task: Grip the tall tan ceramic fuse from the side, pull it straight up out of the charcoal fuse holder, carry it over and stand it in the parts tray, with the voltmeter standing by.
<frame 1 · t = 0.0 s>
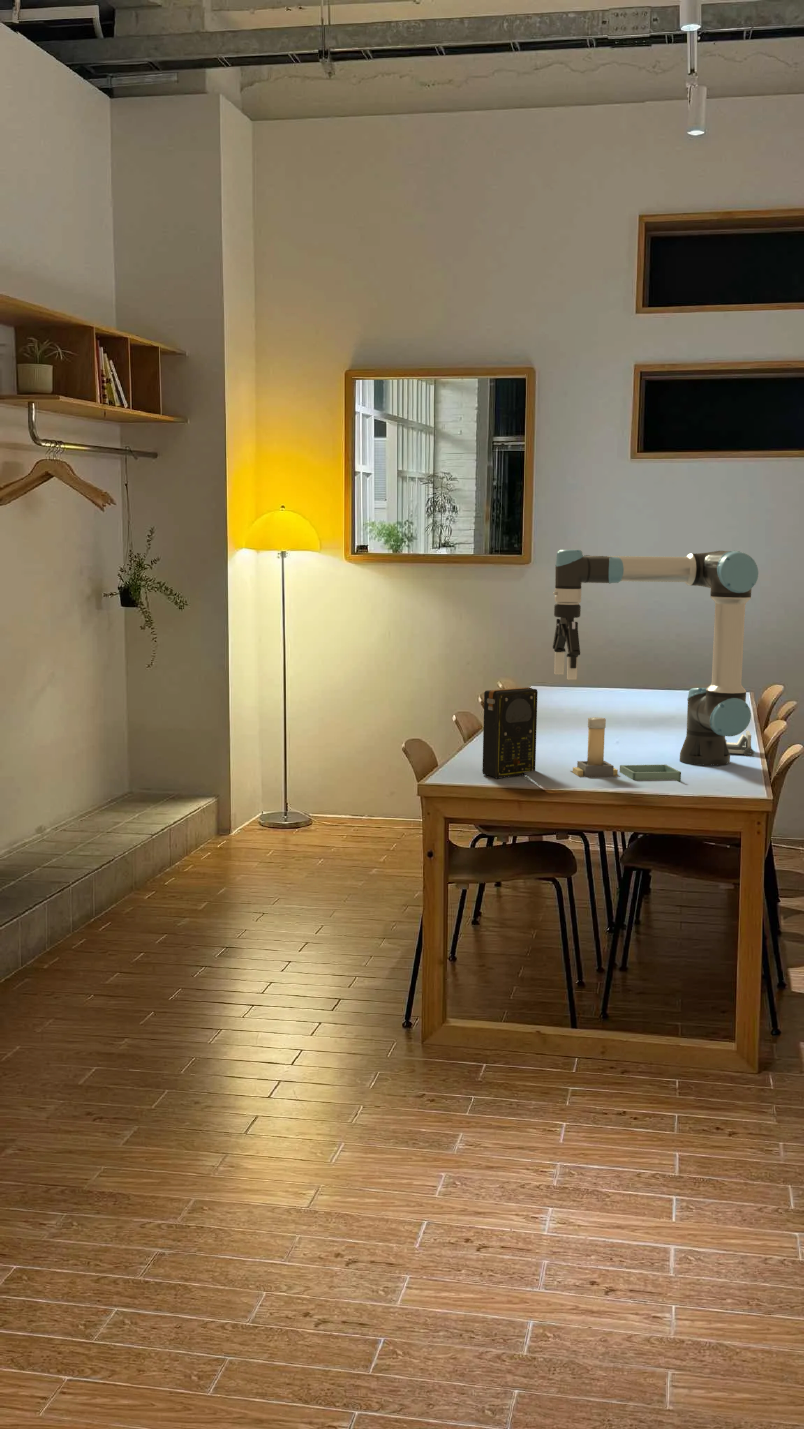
hand: (565, 677, 383), 28 cm above the table, tool pointing down, fingers open, 13 cm apart
fuse holder: (594, 777, 380), on the table
voltmeter: (508, 775, 382), on the table
parts tray: (649, 778, 378), on the table
fuse: (595, 773, 379), point 1 cm above the table, touching fuse holder
phone holder: (723, 753, 427), on the table
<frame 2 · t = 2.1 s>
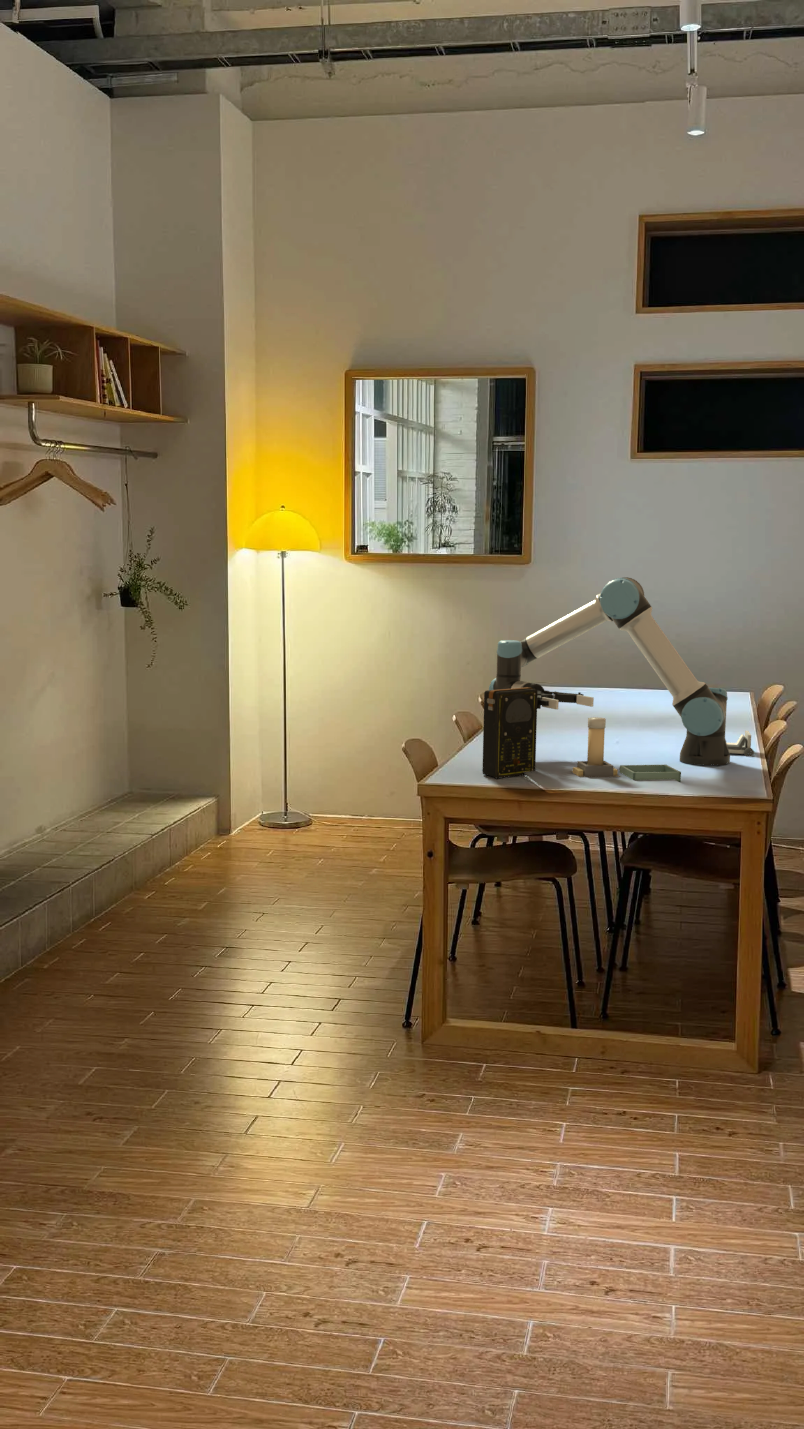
hand: (575, 703, 384), 20 cm above the table, tool horizontal, fingers open, 13 cm apart
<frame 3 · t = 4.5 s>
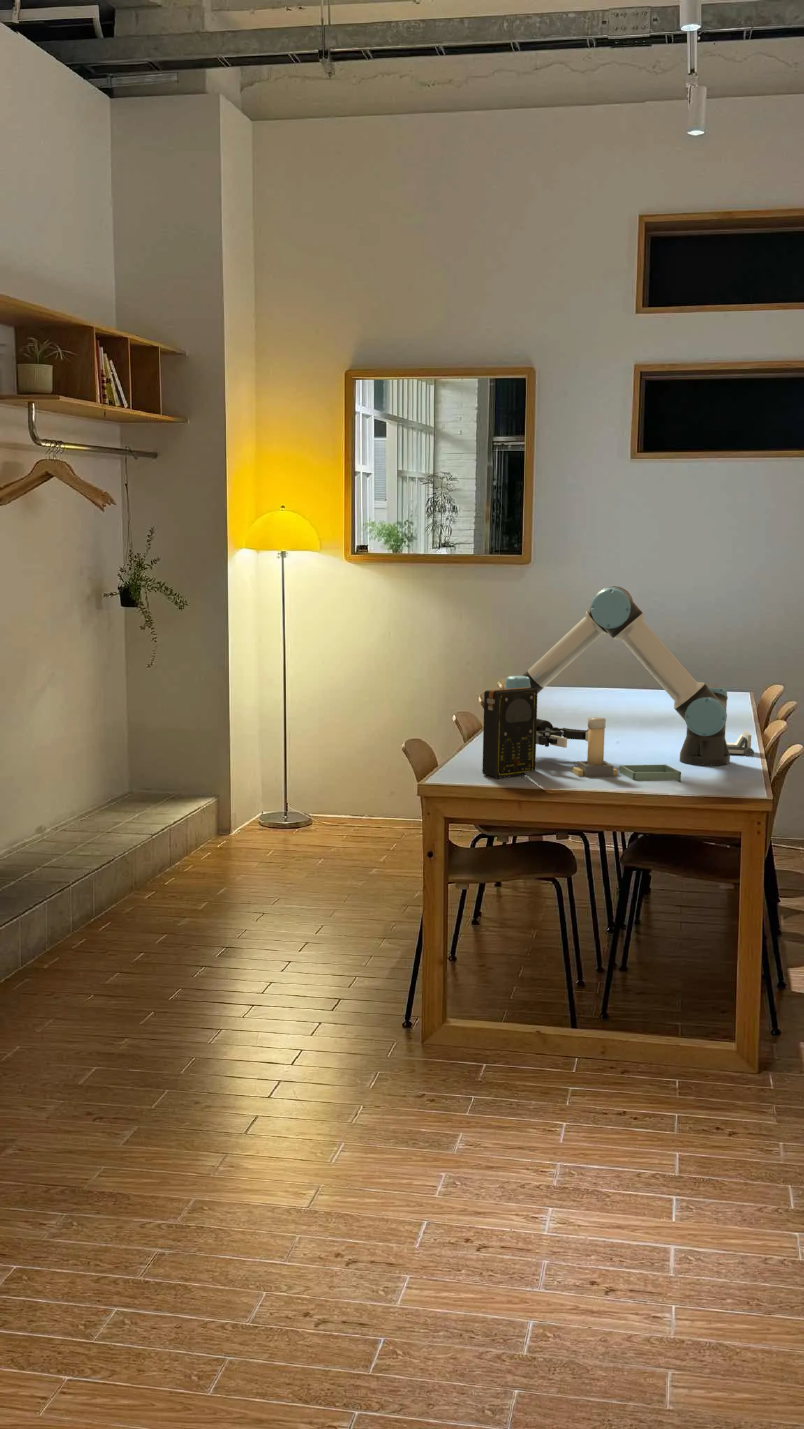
hand: (584, 741, 382), 10 cm above the table, tool horizontal, fingers open, 13 cm apart
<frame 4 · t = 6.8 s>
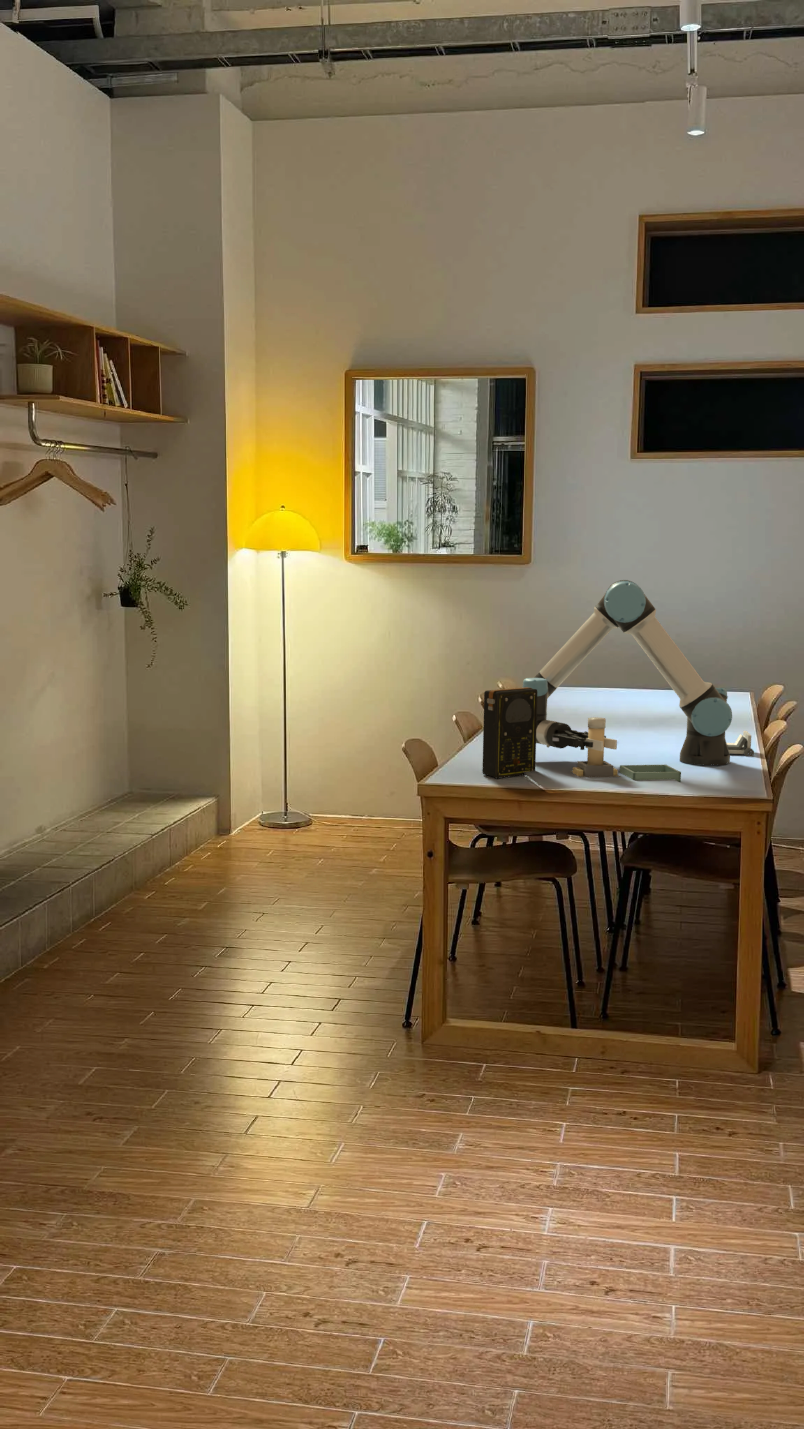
hand: (608, 745, 374), 10 cm above the table, tool horizontal, fingers closed on fuse, 4 cm apart
fuse: (595, 773, 379), point 1 cm above the table, touching fuse holder, gripper
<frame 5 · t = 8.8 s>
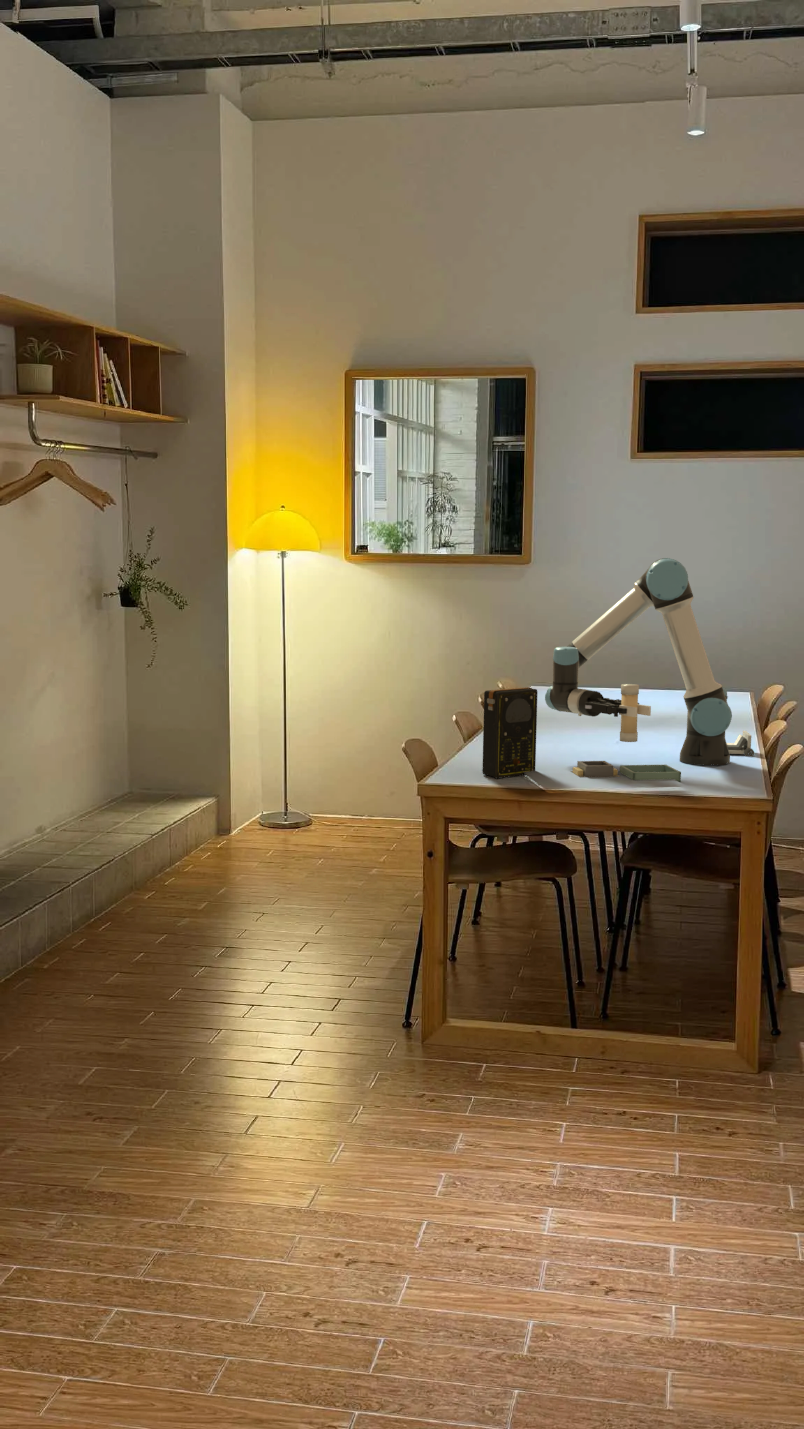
hand: (642, 711, 372), 20 cm above the table, tool horizontal, fingers closed on fuse, 4 cm apart
fuse: (628, 740, 377), point 11 cm above the table, touching gripper
when the fingers open (11 cm above the table, at t = 11.2 s): fuse drops 1 cm, resting on parts tray.
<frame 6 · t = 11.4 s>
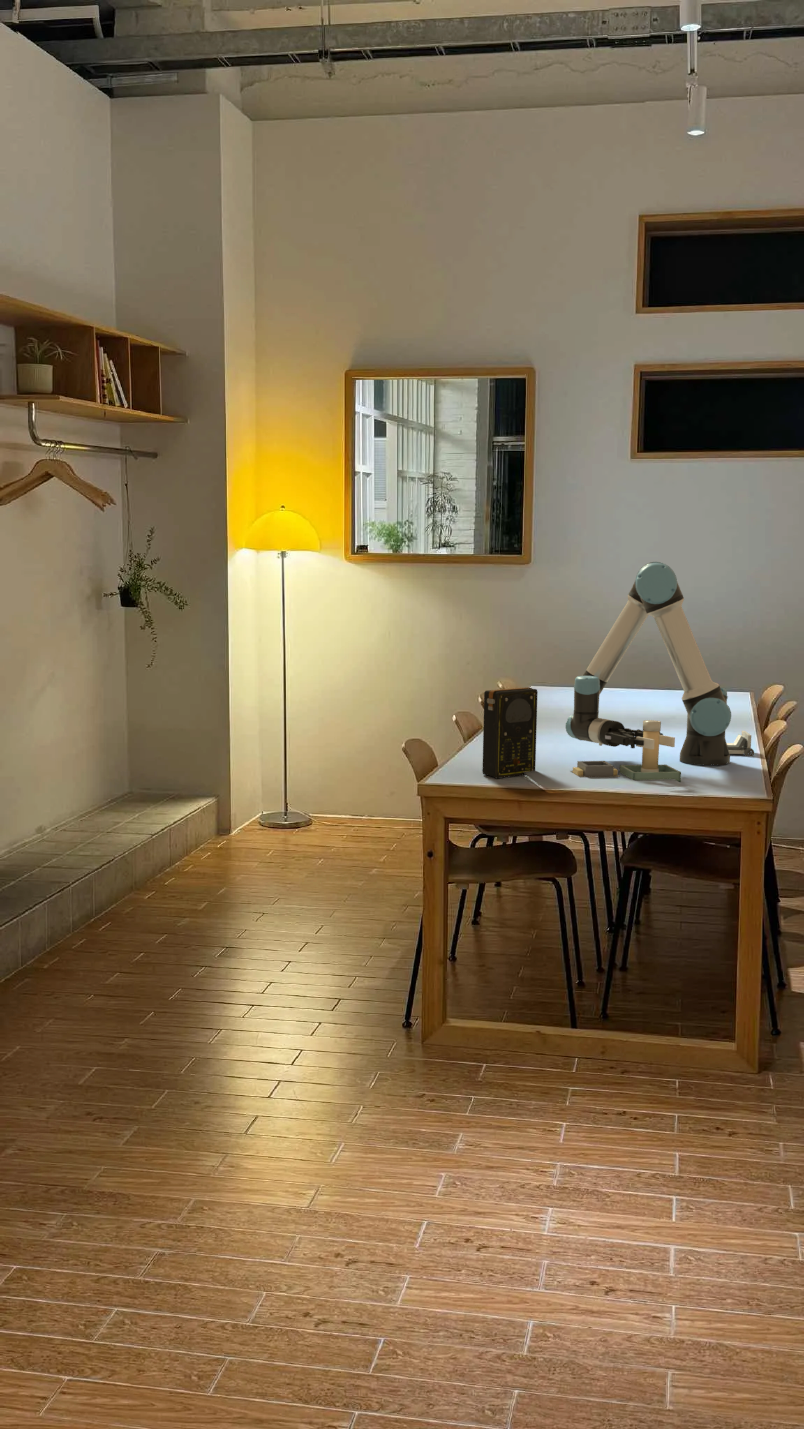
hand: (663, 743, 373), 11 cm above the table, tool horizontal, fingers open, 7 cm apart
fuse: (649, 776, 378), point 1 cm above the table, touching parts tray
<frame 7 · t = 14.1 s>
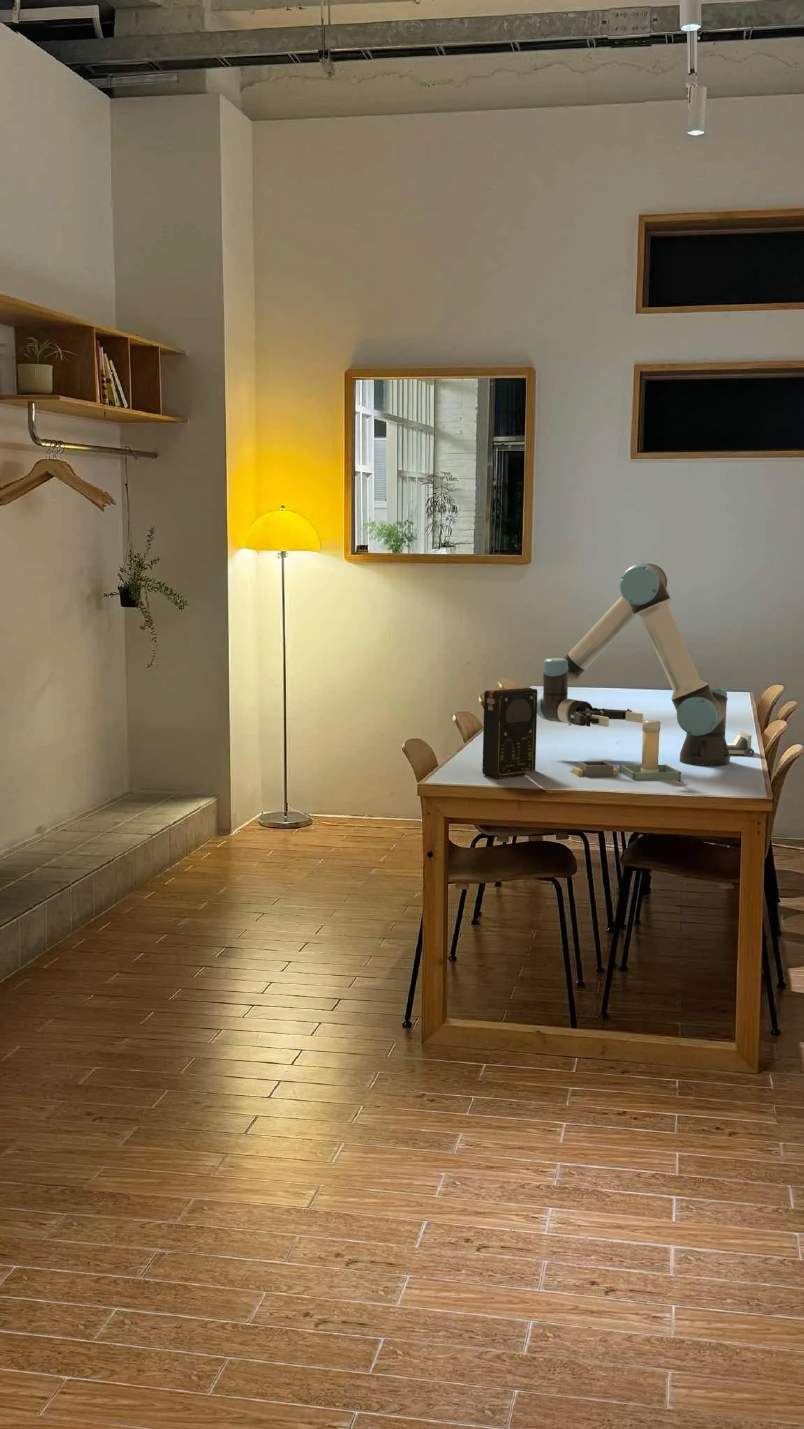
hand: (625, 720, 384), 16 cm above the table, tool horizontal, fingers open, 13 cm apart
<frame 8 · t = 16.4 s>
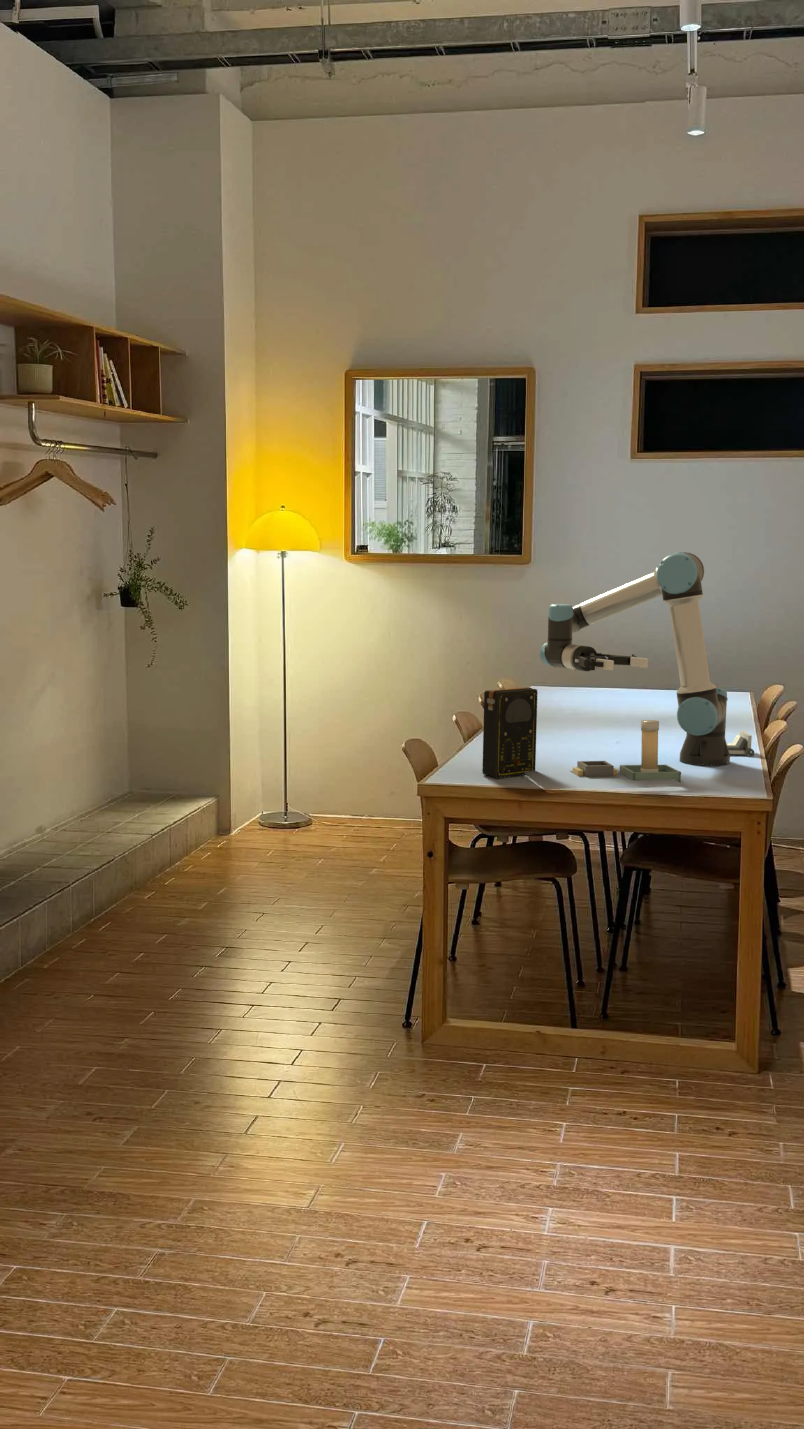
hand: (630, 664, 382), 32 cm above the table, tool horizontal, fingers open, 13 cm apart
at the end: fuse inside the target area on the parts tray (0.1 cm from its centre), point 0.7 cm above the parts tray's base; fuse touching parts tray; the gripper is holding nothing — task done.
